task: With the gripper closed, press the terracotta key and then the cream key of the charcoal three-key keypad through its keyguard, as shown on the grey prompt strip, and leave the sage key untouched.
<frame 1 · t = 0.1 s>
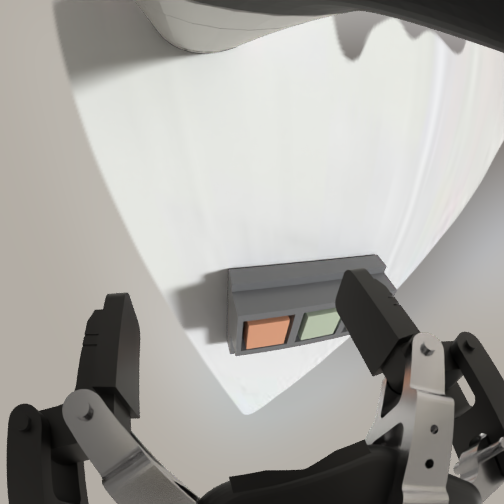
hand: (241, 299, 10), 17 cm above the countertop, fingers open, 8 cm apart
keypad: (301, 300, 38), on the countertop
key sage: (318, 319, 33), point 5 cm above the countertop, slide at 0.0 cm
key terracotta: (265, 328, 31), point 5 cm above the countertop, slide at 0.0 cm
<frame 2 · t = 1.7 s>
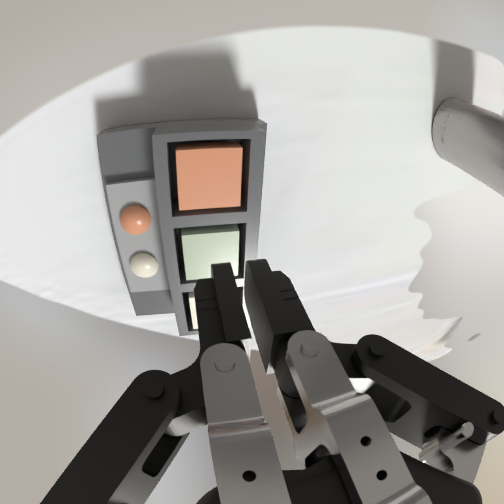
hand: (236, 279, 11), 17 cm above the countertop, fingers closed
key cream: (212, 305, 28), point 5 cm above the countertop, slide at 0.0 cm
keypad: (185, 222, 28), on the countertop
key sage: (210, 250, 24), point 5 cm above the countertop, slide at 0.0 cm
key terracotta: (208, 174, 20), point 5 cm above the countertop, slide at 0.0 cm
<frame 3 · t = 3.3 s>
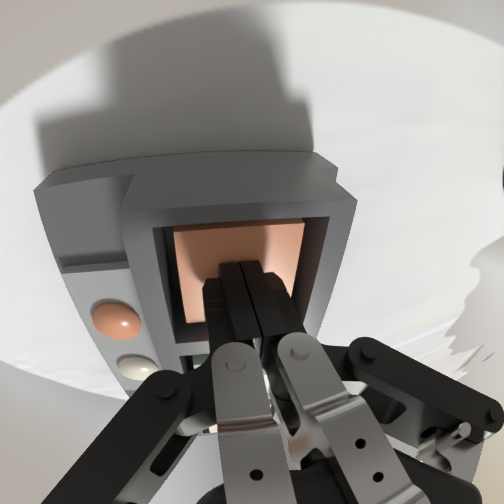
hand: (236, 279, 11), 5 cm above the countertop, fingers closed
key cream: (235, 409, 19), point 5 cm above the countertop, slide at 0.0 cm
keypad: (194, 305, 19), on the countertop
key sage: (236, 366, 15), point 5 cm above the countertop, slide at 0.0 cm
key terracotta: (235, 263, 12), point 4 cm above the countertop, slide at 0.8 cm, touching gripper
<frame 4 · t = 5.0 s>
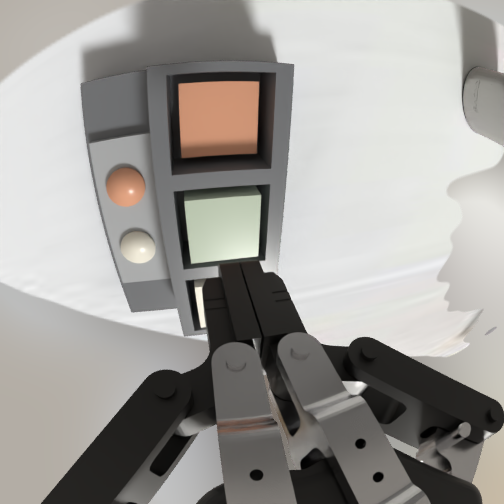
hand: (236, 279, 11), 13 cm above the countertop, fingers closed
key cream: (225, 296, 22), point 5 cm above the countertop, slide at 0.0 cm
keypad: (189, 194, 22), on the countertop
key sage: (222, 223, 18), point 5 cm above the countertop, slide at 0.0 cm
key terracotta: (217, 116, 16), point 4 cm above the countertop, slide at 1.5 cm
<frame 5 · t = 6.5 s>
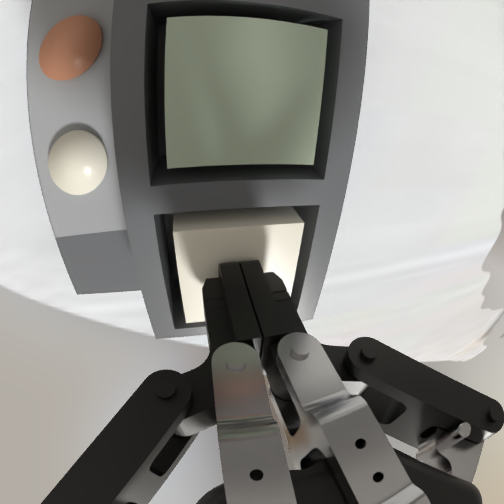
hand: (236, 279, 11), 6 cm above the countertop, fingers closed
key cream: (234, 262, 12), point 5 cm above the countertop, slide at 0.0 cm, touching gripper
keypad: (180, 86, 11), on the countertop
key sage: (241, 88, 8), point 5 cm above the countertop, slide at 0.0 cm
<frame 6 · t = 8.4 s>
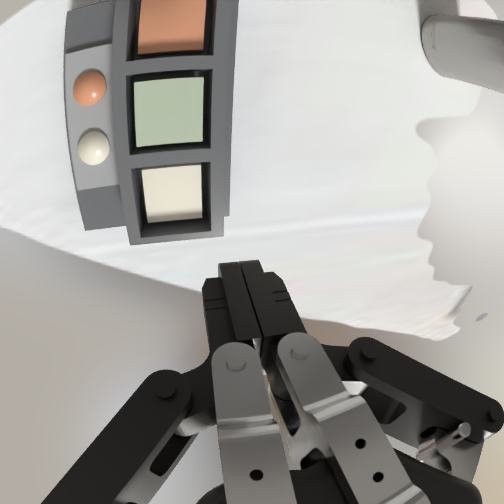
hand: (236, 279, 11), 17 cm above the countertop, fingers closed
key cream: (172, 190, 22), point 4 cm above the countertop, slide at 1.5 cm
keypad: (148, 106, 21), on the countertop
key sage: (169, 110, 17), point 5 cm above the countertop, slide at 0.0 cm
key terracotta: (172, 25, 14), point 4 cm above the countertop, slide at 1.5 cm
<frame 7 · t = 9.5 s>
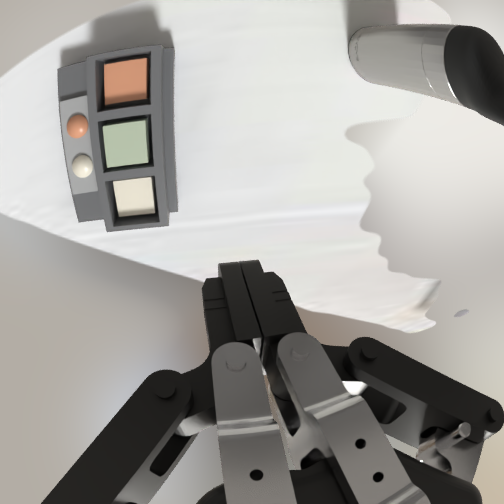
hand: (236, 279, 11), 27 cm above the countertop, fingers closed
key cream: (135, 194, 31), point 4 cm above the countertop, slide at 1.5 cm
keypad: (119, 135, 29), on the countertop
key sage: (126, 142, 26), point 5 cm above the countertop, slide at 0.0 cm
key terracotta: (126, 81, 23), point 4 cm above the countertop, slide at 1.5 cm
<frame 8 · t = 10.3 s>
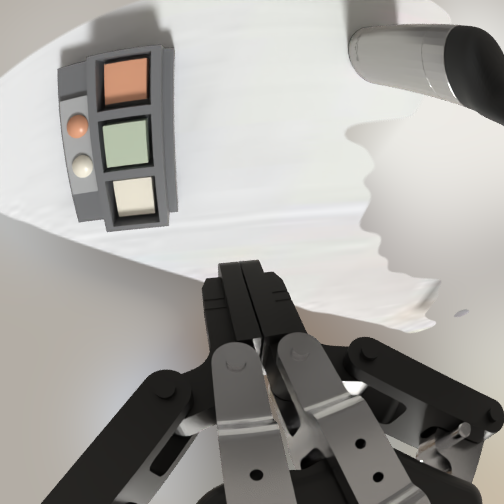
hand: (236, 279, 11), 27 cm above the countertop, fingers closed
key cream: (135, 194, 31), point 4 cm above the countertop, slide at 1.5 cm
keypad: (119, 135, 29), on the countertop
key sage: (126, 142, 26), point 5 cm above the countertop, slide at 0.0 cm
key terracotta: (126, 81, 23), point 4 cm above the countertop, slide at 1.5 cm
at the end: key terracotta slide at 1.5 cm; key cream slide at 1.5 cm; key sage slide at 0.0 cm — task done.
